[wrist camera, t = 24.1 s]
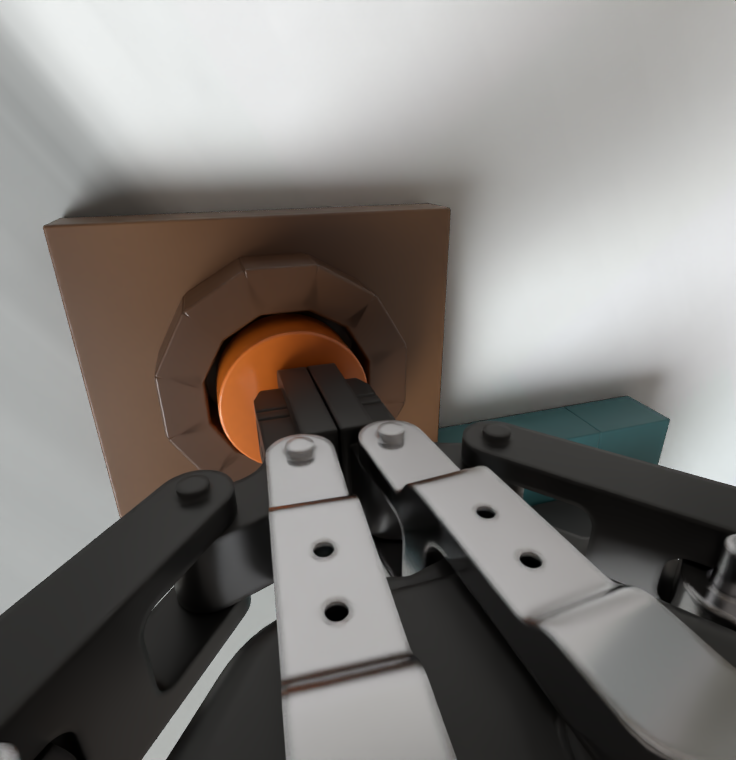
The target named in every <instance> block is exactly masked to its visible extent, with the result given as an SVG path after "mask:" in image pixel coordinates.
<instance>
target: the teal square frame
mask: <svg viewBox="0 0 736 760" xmlns="http://www.w3.org/2000/svg"><path fill="white" fill-rule="evenodd" d="M484 421H499V422H505V423H509V424H512V425H516V426H520V427H523V428H527V429H530V430H534V431H538V432H541V433H545V434H548V435H552V436H556V437H559V438H563V439H566V440H570V441H574V442H577V443H581V444H584V445H588V446H591V447H595V448H599V449H602V450H606V451H609V452H613V453H617V454H620V455H624V456H627V457H631V458H635V459H638V460H642V461H645V462H649V463H653V464H656V465H658V462H659V458H660V455H661V451H662V447H663V444H664V440H665V436H666V433H667V429H668V425H669V422H670V419H669V418H667V417H665V416H663V415H661V414H660V413H658V412H656V411H654V410H652V409H651V408H649V407H647V406H645V405H643V404H642V403H640V402H638V401H636V400H634V399H633V398H631V397H629V396H623V397H618V398H612V399H606V400H600V401H594V402H589V403H583V404H577V405H571V406H565V407H560V408H554V409H548V410H542V411H536V412H531V413H525V414H519V415H513V416H507V417H502V418H496V419H490V420H484ZM478 422H481V421H478ZM473 423H476V422H473ZM473 423H470V424H462V425H457V426H451V427H445V428H439V429H438V442H440V443H462V437H463V431H464V429H465V428H466V427H467V426H469V425H471V424H473ZM523 500H524V501H525V502H526V503H527V504H528V505H530V506H533V505H538V504H542V503H547V502H551V501H555V500H557V499H554V498H551V497H548V496H545V495H542V494H539V493H536V492H533V491H530V490H527V489H524V494H523Z"/></svg>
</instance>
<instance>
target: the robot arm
mask: <svg viewBox="0 0 736 760" xmlns="http://www.w3.org/2000/svg"><path fill="white" fill-rule="evenodd" d="M277 382H278V389H271V390H264V391H260V392H259V393H258V395H257V396H256V398H255V400H254V409H255V417H256V425H257V433H258V442H259V450H260V456H261V460H262V465H261V466H260V467H259V468H258V469H257V470H256V471H255V472H253V473H252V474H250V475H249V476H247V477H245V478H242V479H240V480H238V481H235V482H233V480H232V479H231V478H230V477H229V476H228V475H227V474H225V473H223V472H220V471H215V470H196V471H191V472H187V473H184V474H181V475H178V476H176V477H174V478H172V479H170V480H168V481H167V482H165V483H164V484H163V485H161V486H160V487H159V488H158V489H156V490H155V491H154V492H153V493H151V494H150V495H149V496H148V497H146V498H145V499H144V500H143V501H141V502H140V503H139V504H138V505H136V506H135V507H134V508H133V509H132V510H130V511H129V512H128V513H127V514H125V515H124V516H123V517H122V518H120V519H119V520H118V521H117V522H115V523H114V524H113V525H112V526H110V527H109V528H108V529H107V530H106V531H104V532H103V533H102V534H101V535H99V536H98V537H97V538H96V539H94V540H93V541H92V542H91V543H89V544H88V545H87V546H86V547H84V548H83V549H82V550H81V551H79V552H78V553H77V554H76V555H75V556H73V557H72V558H71V559H70V560H68V561H67V562H66V563H65V564H63V565H62V566H61V567H60V568H58V569H57V570H56V571H55V572H53V573H52V574H51V575H50V576H48V577H47V578H46V579H45V580H44V581H42V582H41V583H40V584H39V585H37V586H36V587H35V588H34V589H32V590H31V591H30V592H29V593H27V594H26V595H25V596H24V597H22V598H21V599H20V600H19V601H17V602H16V603H15V604H14V605H13V606H11V607H10V608H9V609H8V610H6V611H5V612H4V613H3V614H1V615H0V760H142V758H143V757H144V755H145V754H146V753H147V751H148V750H149V748H150V747H151V746H152V744H153V743H154V741H155V740H156V739H157V737H158V736H159V734H160V733H161V732H162V730H163V729H164V727H165V726H166V725H167V723H168V722H169V720H170V719H171V718H172V716H173V715H174V714H175V712H176V711H177V709H178V708H179V707H180V705H181V704H182V702H183V701H184V700H185V698H186V697H187V695H188V694H189V693H190V691H191V690H192V688H193V687H194V686H195V684H196V683H197V681H198V680H199V679H200V677H201V676H202V674H203V673H204V672H205V670H206V669H207V667H208V666H209V665H210V663H211V662H212V660H213V659H214V658H215V656H216V655H217V653H218V652H219V651H220V649H221V648H222V646H223V645H224V644H225V642H226V641H227V639H228V638H229V637H230V635H231V634H232V632H233V631H234V630H235V628H236V627H237V625H238V624H239V623H240V621H241V620H242V618H243V617H244V616H245V614H246V613H247V611H248V609H249V606H250V602H251V595H252V594H254V593H256V592H258V591H260V590H262V589H263V588H265V587H267V586H269V585H271V584H273V583H274V591H275V604H276V617H277V620H275V621H274V622H272V623H271V624H269V625H267V626H266V627H264V628H263V629H262V630H260V631H259V632H258V633H257V634H255V635H254V636H253V637H252V638H251V639H250V640H249V641H248V642H247V643H246V644H245V645H244V646H243V647H242V648H240V649H239V651H238V652H237V653H236V654H235V656H234V657H233V658H232V659H231V660H230V662H229V663H228V664H227V666H226V667H225V668H224V670H223V671H222V673H221V674H220V676H219V677H218V679H217V680H216V682H215V684H214V685H213V687H212V688H211V690H210V691H209V693H208V695H207V696H206V698H205V699H204V701H203V703H202V704H201V706H200V707H199V709H198V710H197V712H196V714H195V715H194V717H193V718H192V720H191V721H190V723H189V725H188V726H187V728H186V729H185V731H184V732H183V734H182V736H181V737H180V739H179V740H178V742H177V743H176V745H175V747H174V748H173V750H172V751H171V753H170V754H169V756H168V757H167V759H166V760H736V487H735V486H732V485H728V484H725V483H721V482H717V481H714V480H710V479H707V478H703V477H699V476H696V475H692V474H689V473H685V472H681V471H678V470H674V469H671V468H667V467H663V466H660V465H656V464H653V463H649V462H645V461H642V460H638V459H635V458H631V457H627V456H624V455H620V454H617V453H613V452H609V451H606V450H602V449H599V448H595V447H591V446H588V445H584V444H581V443H577V442H574V441H570V440H566V439H563V438H559V437H556V436H552V435H548V434H545V433H541V432H538V431H534V430H530V429H527V428H523V427H520V426H516V425H512V424H509V423H505V422H499V421H481V422H476V423H473V424H471V425H469V426H467V427H466V428H465V429H464V431H463V437H462V443H440V442H433V441H432V440H431V439H430V438H429V437H428V436H427V435H426V434H425V433H424V432H423V431H422V430H421V429H420V428H418V427H417V426H415V425H414V424H411V423H408V422H405V421H400V420H395V418H394V417H393V416H392V414H391V413H390V412H389V410H388V409H387V408H386V406H385V405H384V404H383V402H381V400H380V398H379V397H378V396H377V395H376V393H375V392H374V390H373V389H372V388H371V386H370V385H369V384H367V383H365V382H363V381H361V380H359V379H357V378H350V379H345V378H344V377H343V375H342V374H341V372H340V371H339V369H338V368H337V366H336V365H335V363H329V364H322V365H314V366H307V367H299V368H291V369H283V370H277ZM524 489H527V490H530V491H533V492H536V493H539V494H542V495H545V496H548V497H551V498H554V499H557V500H560V501H562V502H565V503H568V504H571V505H574V506H576V507H579V508H580V509H582V510H583V511H584V512H585V513H586V514H587V515H588V516H589V518H590V520H591V523H592V529H591V534H590V537H581V536H578V535H575V534H573V533H570V532H567V531H565V530H562V529H559V528H557V527H554V526H551V525H550V524H549V523H548V522H547V521H546V520H545V519H544V518H543V517H541V516H540V515H539V514H538V513H537V512H536V511H535V510H534V509H533V508H532V507H531V506H530V505H528V504H527V503H526V502H525V501H524V500H523V494H524ZM678 559H679V560H678ZM173 585H174V587H173ZM172 587H173V588H172ZM171 588H172V589H171ZM170 589H171V590H170ZM169 590H170V591H169ZM168 591H169V593H168V594H167V595H166V596H165V597H164V598H163V599H162V600H161V601H160V599H161V598H162V597H163V596H164V595H165V594H166V593H167V592H168ZM159 601H160V602H159ZM158 602H159V603H158ZM157 603H158V604H157ZM156 604H157V606H156V607H155V608H154V606H155V605H156ZM153 608H154V609H153ZM152 609H153V610H152Z"/></svg>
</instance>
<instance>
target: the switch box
mask: <svg viewBox="0 0 736 760" xmlns="http://www.w3.org/2000/svg"><path fill="white" fill-rule="evenodd" d="M450 212H451V210H450V208H448V207H443V206H438V205H433V204H429V203H424V204H398V205H373V206H348V207H323V208H298V209H272V210H247V211H222V212H197V213H172V214H147V215H121V216H96V217H71V218H59V219H57V220H55V221H53V222H51V223H49V224H46V225H44V226H43V229H44V233H45V237H46V241H47V245H48V248H49V252H50V256H51V260H52V263H53V267H54V271H55V275H56V278H57V282H58V286H59V290H60V293H61V297H62V301H63V305H64V309H65V312H66V316H67V320H68V324H69V327H70V331H71V335H72V339H73V342H74V346H75V350H76V354H77V357H78V361H79V365H80V369H81V373H82V376H83V380H84V384H85V388H86V391H87V395H88V399H89V403H90V406H91V410H92V414H93V418H94V421H95V425H96V429H97V433H98V437H99V440H100V444H101V448H102V452H103V455H104V459H105V463H106V467H107V470H108V474H109V478H110V482H111V486H112V489H113V493H114V497H115V501H116V504H117V508H118V512H119V516H120V518H122V517H123V516H124V515H125V514H127V513H128V512H129V511H130V510H132V509H133V508H134V507H135V506H136V505H138V504H139V503H140V502H141V501H143V500H144V499H145V498H146V497H148V496H149V495H150V494H151V493H153V492H154V491H155V490H156V489H158V488H159V487H160V486H161V485H163V484H164V483H165V482H167V481H168V480H170V479H172V478H174V477H176V476H178V475H181V474H184V473H187V472H191V471H196V470H215V471H220V472H223V473H225V474H227V475H228V476H229V477H230V478H231V479H232V480H233V482H235V481H238V480H240V479H242V478H245V477H247V476H249V475H250V474H252V473H253V472H255V471H256V470H257V469H258V468H259V467H260V466H261V465H262V463H259V462H256V461H254V460H252V459H250V458H249V457H247V456H246V455H244V454H243V453H241V452H240V451H239V450H238V449H237V448H236V447H235V446H234V445H233V444H232V443H231V441H230V440H229V439H228V437H227V436H226V434H225V432H224V430H223V427H222V425H221V422H220V418H219V412H218V401H217V391H216V371H217V367H218V363H219V360H220V357H221V355H222V353H223V351H224V349H225V348H226V346H227V345H228V343H229V342H230V341H231V339H232V338H233V337H234V336H235V335H236V334H237V333H238V332H240V331H241V330H242V329H243V328H245V327H246V326H248V325H249V324H251V323H253V322H255V321H257V320H259V319H261V318H264V317H268V316H271V315H276V314H288V313H292V314H301V315H305V316H309V317H312V318H315V319H317V320H319V321H321V322H323V323H325V324H326V325H328V326H329V327H330V328H332V329H333V330H334V331H335V332H336V333H337V334H338V335H339V336H340V338H341V339H342V340H343V341H344V343H345V344H346V345H347V346H348V348H349V349H350V350H351V351H352V353H353V354H354V355H355V356H356V358H357V359H358V360H359V362H360V364H361V366H362V367H363V370H364V373H365V375H366V379H367V384H369V385H370V386H371V388H372V389H373V390H374V392H375V393H376V395H377V396H378V397H379V398H380V400H381V402H383V404H384V405H385V406H386V408H387V409H388V410H389V412H390V413H391V414H392V416H393V417H394V418H395V420H400V421H405V422H408V423H411V424H414V425H415V426H417V427H418V428H420V429H421V430H422V431H423V432H424V433H425V434H426V435H427V436H428V437H429V438H430V439H431V440H432V441H433V442H438V427H439V409H440V391H441V373H442V355H443V338H444V320H445V302H446V284H447V266H448V248H449V230H450Z"/></svg>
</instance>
